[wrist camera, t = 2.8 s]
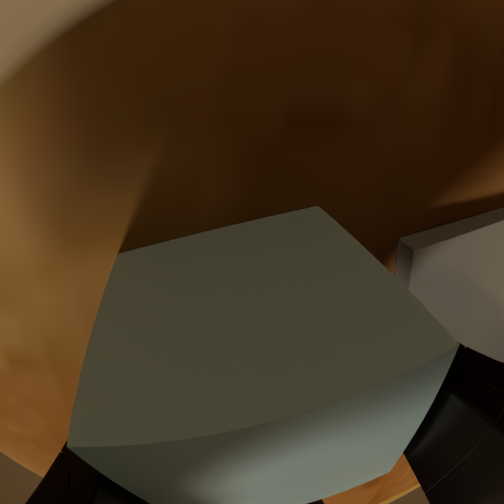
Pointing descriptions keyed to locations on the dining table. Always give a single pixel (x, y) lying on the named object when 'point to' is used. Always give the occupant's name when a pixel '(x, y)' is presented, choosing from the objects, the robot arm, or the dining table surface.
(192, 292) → the cube
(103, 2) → the dining table surface
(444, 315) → the coaster
